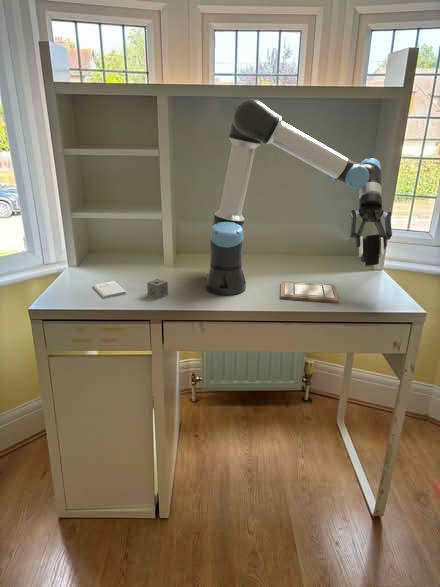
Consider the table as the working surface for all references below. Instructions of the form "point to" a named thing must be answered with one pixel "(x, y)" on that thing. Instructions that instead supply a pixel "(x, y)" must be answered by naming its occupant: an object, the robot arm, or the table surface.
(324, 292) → the picture frame
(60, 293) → the table surface
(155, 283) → the dice cube
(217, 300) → the table surface
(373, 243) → the speaker
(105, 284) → the external hard drive
